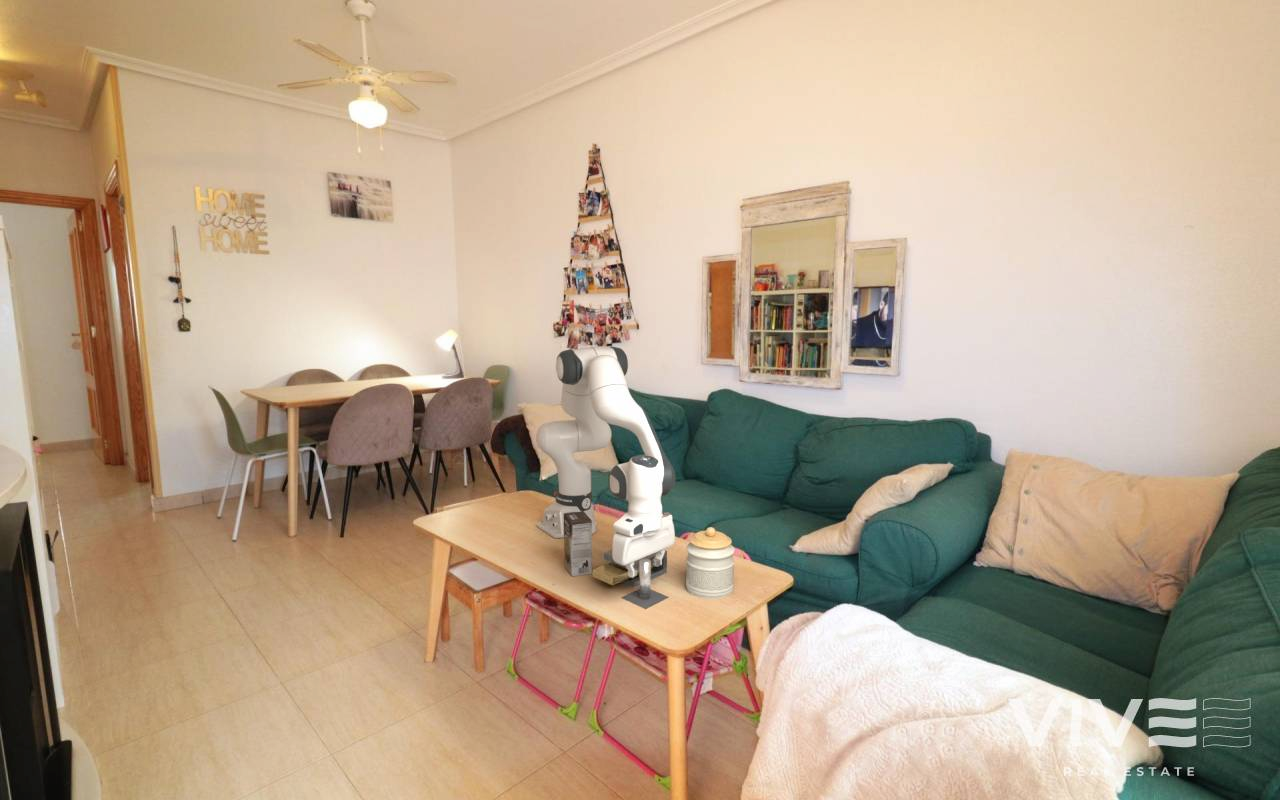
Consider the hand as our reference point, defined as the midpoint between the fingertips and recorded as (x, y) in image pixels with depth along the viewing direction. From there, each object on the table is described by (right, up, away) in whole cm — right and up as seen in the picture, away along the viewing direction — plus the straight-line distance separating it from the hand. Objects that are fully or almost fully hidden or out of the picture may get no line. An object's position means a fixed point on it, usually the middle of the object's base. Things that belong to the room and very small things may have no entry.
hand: (645, 570), depth 153 cm
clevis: (-5, -6, +14) cm, 16 cm away
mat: (0, -8, +1) cm, 8 cm away
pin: (0, -7, +1) cm, 7 cm away
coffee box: (-20, -6, +20) cm, 28 cm away
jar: (+17, -7, +7) cm, 20 cm away
